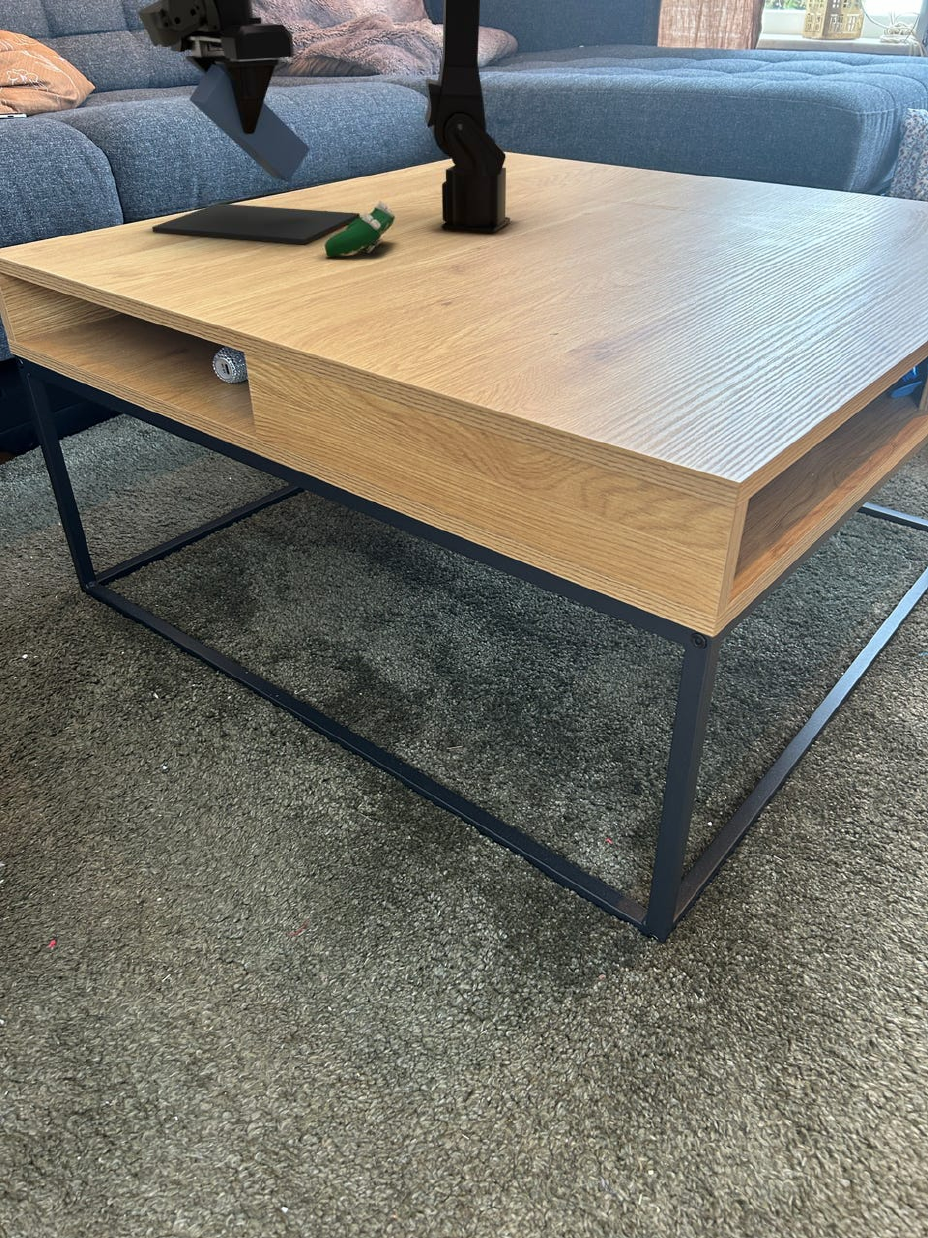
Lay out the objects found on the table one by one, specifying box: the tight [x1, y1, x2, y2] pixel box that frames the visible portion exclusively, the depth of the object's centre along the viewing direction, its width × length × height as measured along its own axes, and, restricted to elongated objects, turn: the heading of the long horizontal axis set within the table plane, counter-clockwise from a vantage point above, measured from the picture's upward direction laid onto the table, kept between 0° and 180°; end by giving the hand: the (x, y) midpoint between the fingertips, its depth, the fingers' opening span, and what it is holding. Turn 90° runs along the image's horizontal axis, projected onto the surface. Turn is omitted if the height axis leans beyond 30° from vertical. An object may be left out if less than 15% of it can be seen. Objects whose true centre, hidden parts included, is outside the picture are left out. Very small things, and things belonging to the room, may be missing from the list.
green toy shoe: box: [324, 200, 396, 258], centre depth 103 cm, size 9×4×6 cm
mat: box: [151, 203, 361, 245], centre depth 114 cm, size 20×14×1 cm
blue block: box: [188, 64, 311, 183], centre depth 105 cm, size 4×4×12 cm
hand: (240, 131), depth 105 cm, fingers closed on blue block, 4 cm apart
